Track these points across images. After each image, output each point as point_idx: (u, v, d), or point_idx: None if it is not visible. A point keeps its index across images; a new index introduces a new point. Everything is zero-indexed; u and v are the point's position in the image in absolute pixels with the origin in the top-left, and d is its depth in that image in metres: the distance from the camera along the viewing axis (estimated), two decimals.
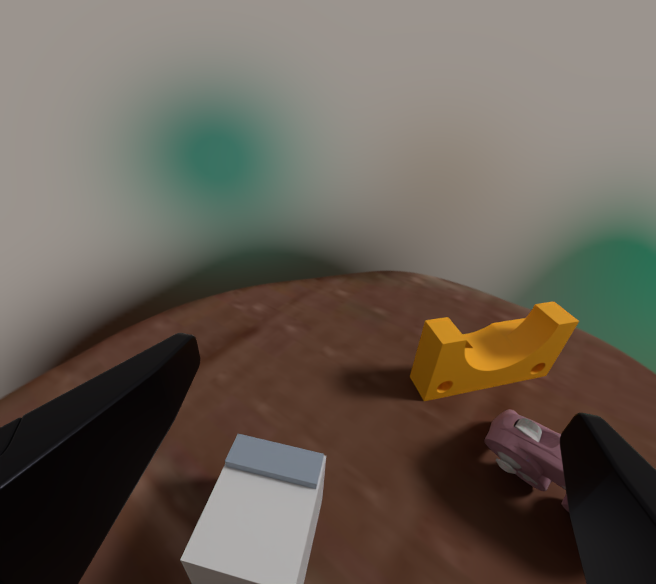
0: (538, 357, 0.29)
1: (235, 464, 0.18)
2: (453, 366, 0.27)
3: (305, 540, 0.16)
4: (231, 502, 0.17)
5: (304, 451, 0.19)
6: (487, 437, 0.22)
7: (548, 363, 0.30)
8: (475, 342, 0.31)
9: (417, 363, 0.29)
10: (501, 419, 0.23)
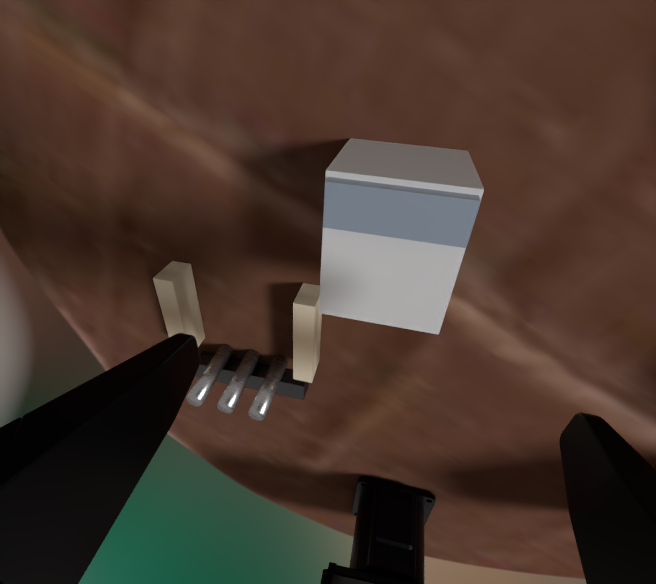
0: None
1: (338, 228, 0.12)
2: None
3: (449, 294, 0.13)
4: (350, 263, 0.14)
5: (445, 200, 0.11)
6: None
7: None
8: None
9: None
10: None
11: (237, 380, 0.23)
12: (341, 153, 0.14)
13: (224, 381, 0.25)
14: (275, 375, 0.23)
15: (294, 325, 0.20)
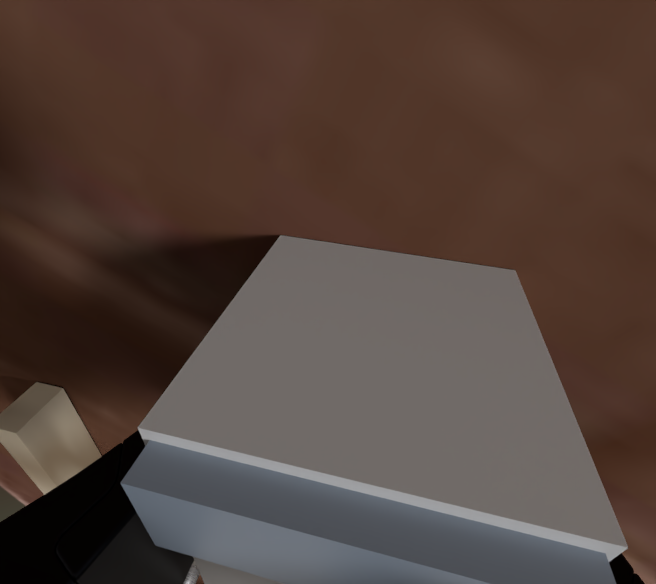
0: None
1: (198, 546, 0.05)
2: None
3: None
4: None
5: None
6: None
7: None
8: None
9: None
10: None
11: None
12: (232, 309, 0.06)
13: None
14: None
15: None
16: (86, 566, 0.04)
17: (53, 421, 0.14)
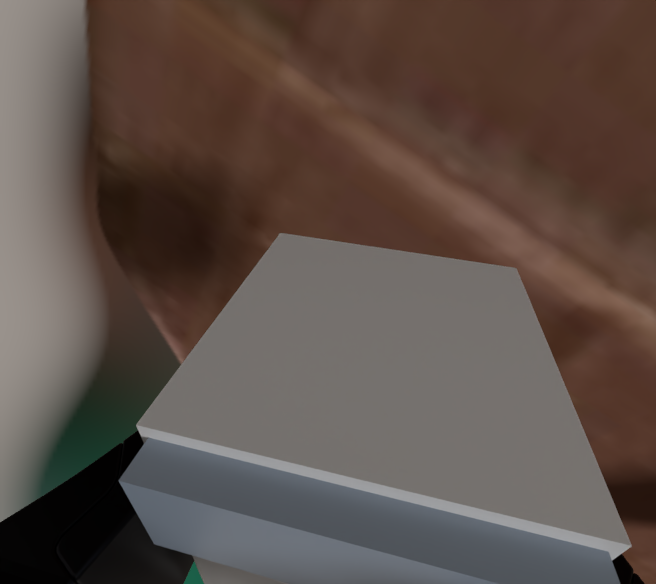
0: None
1: (196, 545, 0.05)
2: None
3: None
4: None
5: None
6: None
7: None
8: None
9: None
10: None
11: None
12: (232, 306, 0.06)
13: None
14: None
15: None
16: (86, 566, 0.04)
17: None
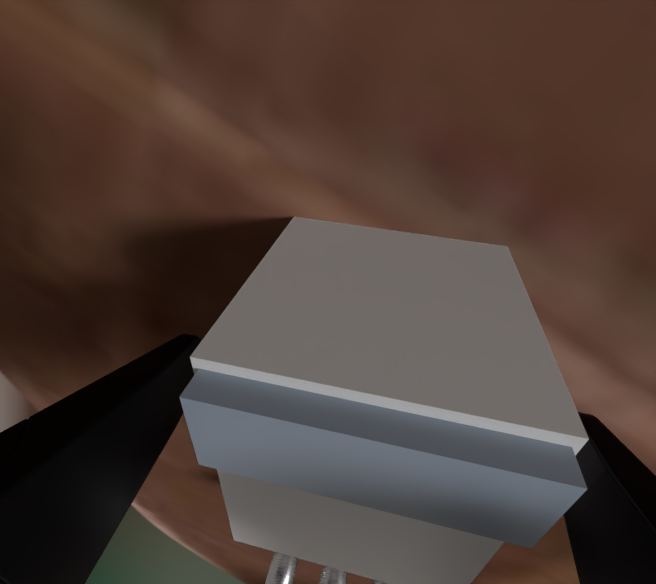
0: None
1: (234, 465, 0.05)
2: None
3: (479, 564, 0.07)
4: (277, 497, 0.07)
5: (485, 472, 0.04)
6: None
7: None
8: None
9: None
10: None
11: None
12: (258, 272, 0.07)
13: None
14: None
15: None
16: None
17: None
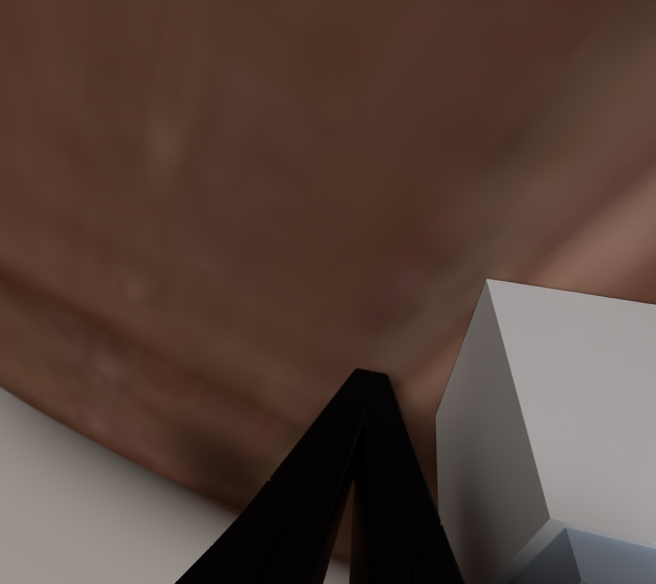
0: None
1: None
2: None
3: None
4: None
5: None
6: None
7: None
8: None
9: None
10: None
11: None
12: (439, 509, 0.09)
13: None
14: None
15: None
16: None
17: None
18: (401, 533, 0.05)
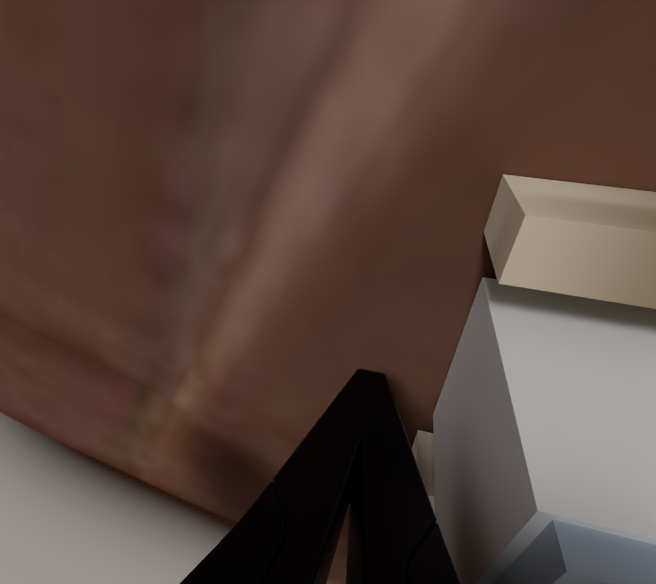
0: None
1: None
2: None
3: None
4: None
5: None
6: None
7: None
8: None
9: None
10: None
11: None
12: (435, 506, 0.09)
13: None
14: None
15: (604, 296, 0.06)
16: None
17: None
18: (396, 532, 0.05)
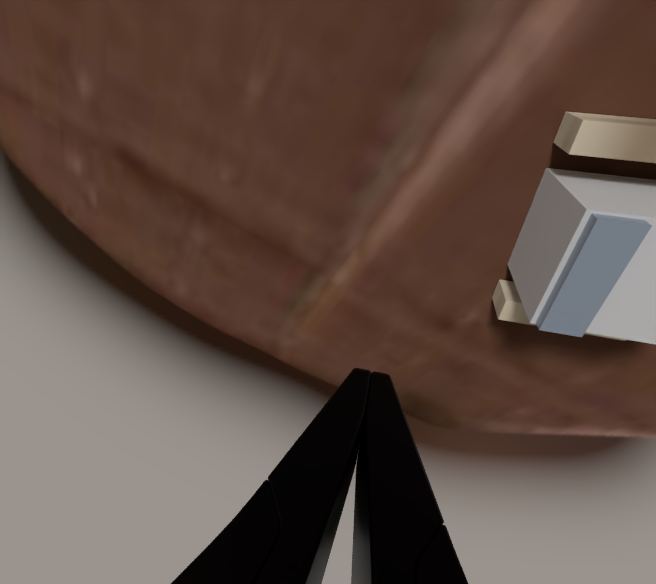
0: None
1: (586, 325, 0.14)
2: None
3: None
4: (634, 316, 0.14)
5: (586, 247, 0.12)
6: None
7: None
8: None
9: None
10: None
11: None
12: (519, 290, 0.17)
13: None
14: None
15: (613, 156, 0.13)
16: None
17: None
18: (404, 534, 0.05)
